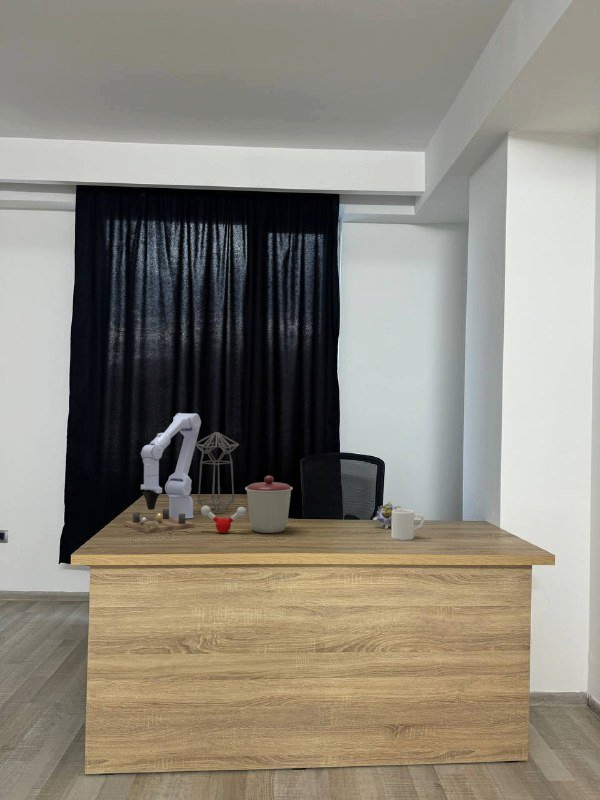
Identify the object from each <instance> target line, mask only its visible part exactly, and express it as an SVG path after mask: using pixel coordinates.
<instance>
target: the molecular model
mask: <svg viewBox="0 0 600 800" xmlns="http://www.w3.org/2000/svg"><path fill="white" fill-rule="evenodd" d="M212 512H213V511H212V510H211V508H210V506H208V505H203V506H202V507H201V508H200V513H201V515H203V516H208V517H209V519H211V520H212V521H213V522H214V523H215V528H216V531H218V532H219V533H220V534H226V533H228V532H229V531H230V529H231V524H232V523H233V522H234V521H235V520H237V519H238V518H239V517H241V518H242V517H245V516H246V514H247V512H248V511H247V508H245V507H244V506H238V508H237V509H236V512H235V513H234V514H233V515H231V516H230V517H228V518H224V517H222V518H219V517H218V516H217V515H215V513H212Z"/></svg>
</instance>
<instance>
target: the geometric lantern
mask: <svg viewBox="0 0 600 800" xmlns="http://www.w3.org/2000/svg"><path fill="white" fill-rule="evenodd" d="M226 439H227V440H228V441H229V442H232V443H231V444H230V443H229V442H228V441H227V440H226ZM205 440H206V441H205ZM214 440H215V442H214ZM203 441H205V442H204V443H203V444H202V442H203ZM200 443H201V444H200ZM210 445H211V446H210ZM239 445H240V444H239V443H238V442H236V441H235V440H233V439H230V438H229V437H227V436H226V435H224V434H223V433H220V432H217V431H215V432H214V431H213V433H211V434H209V435H207V436H206V437H204V438H202V439H200V440H199V441H196V445H195V448H197V449H198V450H199V451H201V457H200V462H199V466H200V467H199V480H198V481H199V482H198V492H197V493H198V494H197V503H199V505H201V506H202V507H203V506H204V505H203V504H208V505H207V506H208V507H210V506H213V507H210V509H215V510H216V509H218V510H217V511H212V512H213V514H220V513H219V512H221V513H224V511H225V512H228V511H229V509H228V507H230V506H231V505H232V504H233V503H235V490H234V467H233V464H234V463H233V458H232V455H231V453H232V452H233V451H234V450H235V449H236V448H238V447H239ZM204 448H205V450H204ZM216 448H220V449H221V451H222V453H221V454H220V456H219V458H218V459H217V460H216V458H215V457H214V456H213V454H212V451H213V450H214V449H216ZM227 449H228V450H227ZM205 454H207V455H208V457H209V459H210V460H205V461H203V459H204V456H205ZM226 454H228V456H229V461H228V460H222V459H223V458H224V456H225V455H226ZM211 456H212V457H211ZM212 458H213V459H212ZM210 462H211V463H210ZM216 462H217V463H216ZM220 462H221V463H220ZM203 464H204V465H206V464H207V465H213V473H212V475H213V476H212V477H213V478H212V493H211V497H209V498H208V497H207V498H202V499H200V498H201V497H200V496H201V481H202V473H203ZM226 464H230V473H231V491H232V492H231V495H232V496H231V497H232V498H222V497H221V485H220V481H221V480H220V465H226ZM216 466H217V497H215V476H216ZM207 500H211V502H207ZM215 500H216V502H215ZM221 500H224V501H225V502H224V501H223V502H221ZM202 503H203V504H202ZM226 504H227V505H226ZM220 506H221V507H220ZM219 509H220V510H219Z"/></svg>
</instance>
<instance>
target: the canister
mask: <svg viewBox="0 0 600 800" xmlns="http://www.w3.org/2000/svg"><path fill="white" fill-rule="evenodd" d="M263 479H264V482H263V481H262V482H254V483H251V484H249V485H247V486H245V488H244V489H245V491H246V495H247V506H248V515H249V523H250V527H251V530H253V532H256V533H260V532H261V533H262V534H275V533H276V534H277V533H281V532H284V531H285V530H286V528H287V525H288V519H289V511H290V503H291V493H292V490H293V486H291V485H289V484H288V483H285V482H284V483H283V482H275V481H274V480H275V479H274V476H272V475H266V476H265V477H264V478H263Z"/></svg>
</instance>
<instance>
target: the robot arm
mask: <svg viewBox="0 0 600 800" xmlns="http://www.w3.org/2000/svg"><path fill="white" fill-rule="evenodd" d="M172 420H173V421H172V423H170V424H169V426H168V427H167V428H166V430H165V431H164V432H160V433H159V432H158V433H157V434H156V436H155V438H154V439H153V440H151V441H150V443H149V444H146V445H144V446H143V447H142V449H141V452H140V455H141V458H142V463H143V484H140V490H141V491H142V490H144V491H142V495H143V496H144V499H145V501H146V506H147V510H148V511H152V510H153V511H154V510H155V509H156V503H157V500H158V498H159V496H160V495H161V494H162V493H163V487H161V486H160V484H159V482H160V481H159V480H160V477H159V475H160V474H159V473H160V472H159V471H160V468H159V467H160V462H159V461H160V459H161V458H162V456H163V453H164V451H165V449H166V448H167V447H168V446H169V445H170V444H171V441H172V440H171V439H172V438H173V437H174V436H175V435H176V434H177V433H178V432H180V434H181V435H182V436H183V441H182V443H181V448H180V451H179V456H178V460H177V464H176V467H175V471H174V473H172V474H171V475H169V476H168V480H167V481H166V483H165V485H164V491H165V493H166V495H167V497H168V498H169V499H168V500H169V501H168V503H169V504H168V507H169V508H168V509H169V516H170V517H173V518H177V519H179V514H185V520H186V519H192V518H193V519H194V518H195V516H194V500H193V497H192V496H190V494H191V493H192V492H191V491H192V482H193V481H192V479H191V478H190V476H189V475H188V474H189V471H190V467H191V464H192V459H193V456H194V452H195V449H196V446H195V445H196V443H197V442H198V441H197V439H198V436H199V432H200V428H201V424H202V420H201V418H200V415H199V413H182V412H178V413H176V414H175V416H173V419H172Z"/></svg>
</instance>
